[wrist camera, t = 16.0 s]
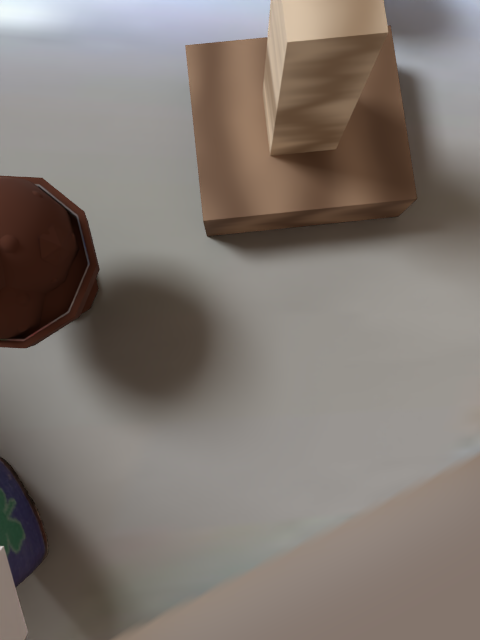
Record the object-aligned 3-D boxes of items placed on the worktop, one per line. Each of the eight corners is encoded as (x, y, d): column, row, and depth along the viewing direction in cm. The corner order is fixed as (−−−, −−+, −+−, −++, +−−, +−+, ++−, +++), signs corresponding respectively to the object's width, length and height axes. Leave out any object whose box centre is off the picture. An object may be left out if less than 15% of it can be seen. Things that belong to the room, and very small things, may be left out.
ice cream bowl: (73, 381, 36) (-42, 390, 21) (-31, 294, 37) (-212, 245, 22) (158, 279, 37) (105, 220, 22) (55, 196, 38) (-63, 86, 23)
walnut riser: (206, 236, 38) (203, 220, 34) (190, 78, 39) (185, 45, 35) (398, 216, 38) (417, 198, 34) (375, 59, 39) (390, 25, 35)
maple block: (269, 155, 34) (287, 42, 22) (262, 93, 35) (275, -51, 23) (335, 149, 34) (388, 32, 22) (327, 87, 35) (374, -60, 23)
